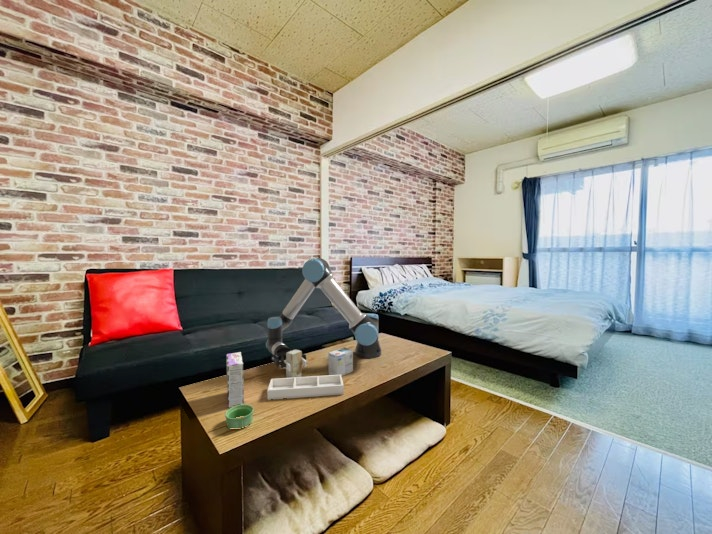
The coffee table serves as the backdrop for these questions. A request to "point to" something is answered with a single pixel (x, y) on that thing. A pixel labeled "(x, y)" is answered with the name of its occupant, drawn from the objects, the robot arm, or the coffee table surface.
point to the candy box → (235, 379)
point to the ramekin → (237, 412)
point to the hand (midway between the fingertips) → (298, 366)
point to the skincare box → (294, 363)
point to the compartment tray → (305, 387)
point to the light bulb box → (340, 361)
